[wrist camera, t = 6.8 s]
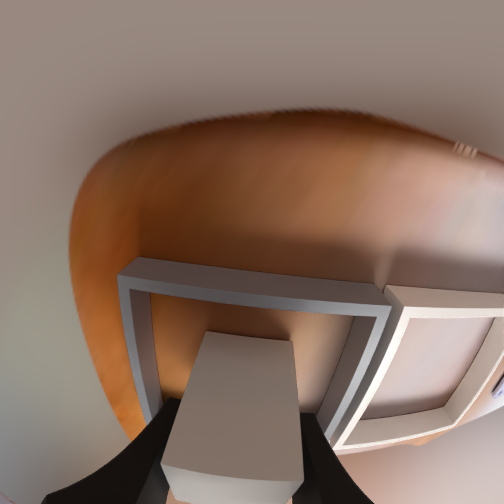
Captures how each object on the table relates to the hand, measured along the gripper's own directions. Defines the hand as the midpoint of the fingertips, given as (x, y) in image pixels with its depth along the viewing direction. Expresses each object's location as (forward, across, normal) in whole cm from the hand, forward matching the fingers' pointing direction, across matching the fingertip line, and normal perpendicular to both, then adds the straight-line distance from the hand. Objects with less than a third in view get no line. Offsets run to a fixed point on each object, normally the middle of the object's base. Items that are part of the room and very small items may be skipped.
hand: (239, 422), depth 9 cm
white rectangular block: (+3, 0, 0) cm, 3 cm away
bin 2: (+4, -11, 0) cm, 12 cm away
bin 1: (+4, 0, 0) cm, 4 cm away
